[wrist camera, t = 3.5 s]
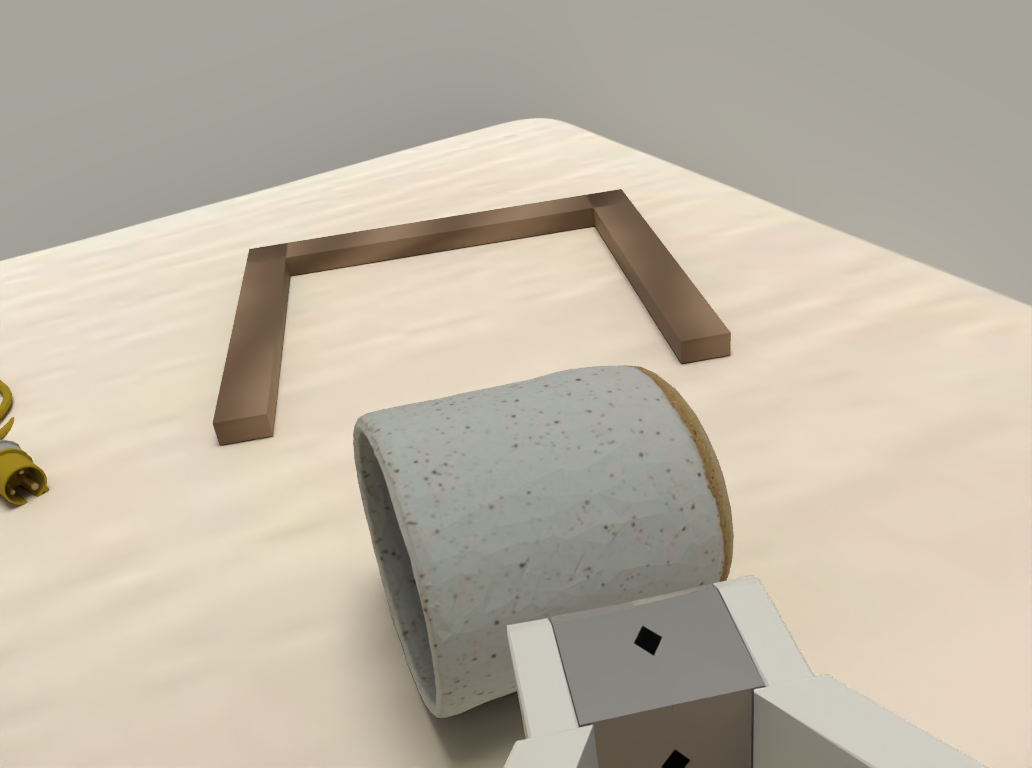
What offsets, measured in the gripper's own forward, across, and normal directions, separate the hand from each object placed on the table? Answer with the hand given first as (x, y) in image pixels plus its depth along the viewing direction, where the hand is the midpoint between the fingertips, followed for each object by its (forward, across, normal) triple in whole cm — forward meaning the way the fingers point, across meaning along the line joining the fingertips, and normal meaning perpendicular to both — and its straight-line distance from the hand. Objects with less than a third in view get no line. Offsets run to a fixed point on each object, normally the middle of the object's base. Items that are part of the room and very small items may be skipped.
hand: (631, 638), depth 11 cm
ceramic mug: (+13, +1, +11) cm, 17 cm away
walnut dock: (+31, 0, +11) cm, 33 cm away
